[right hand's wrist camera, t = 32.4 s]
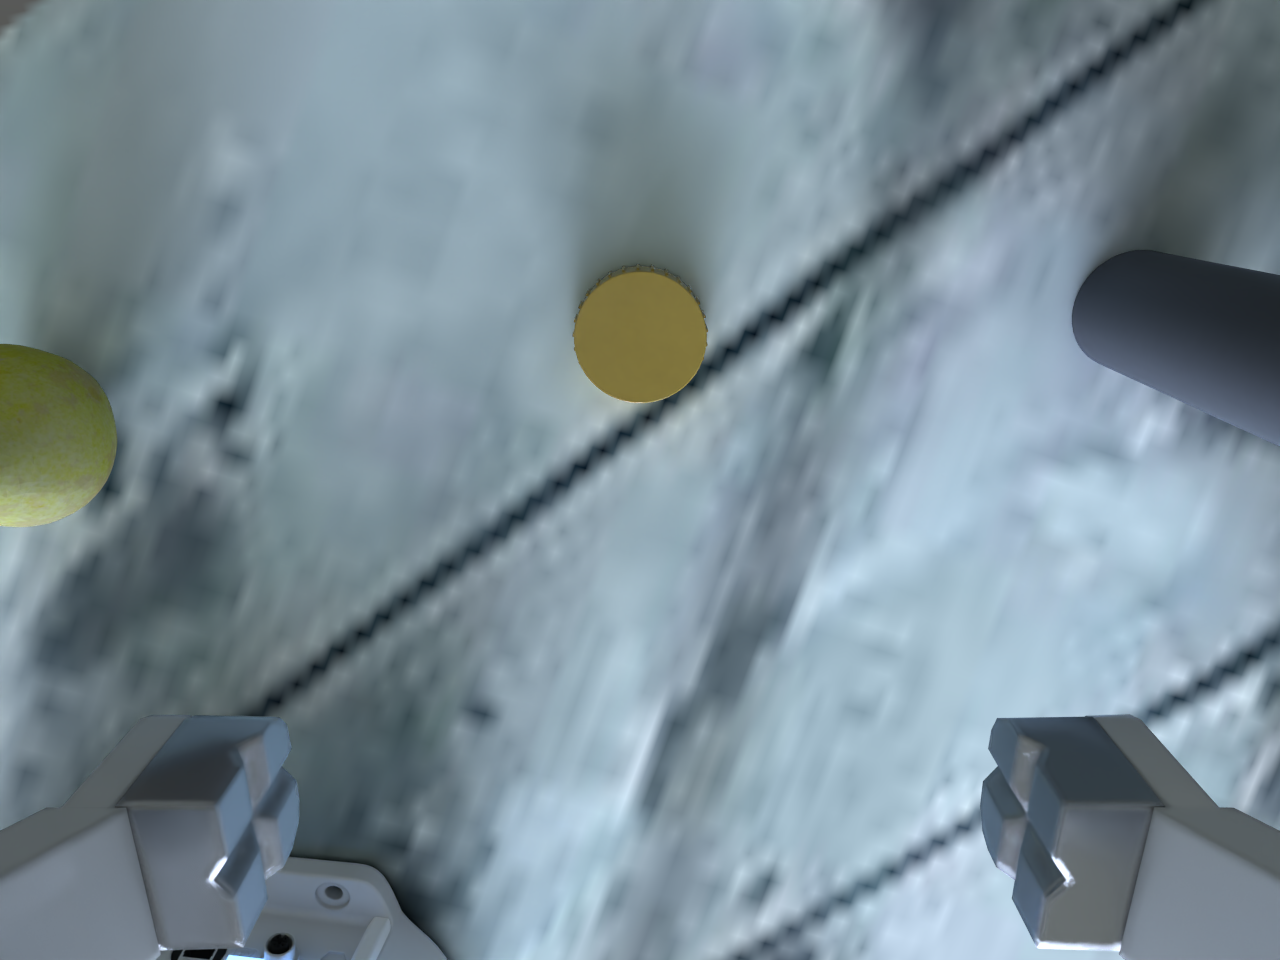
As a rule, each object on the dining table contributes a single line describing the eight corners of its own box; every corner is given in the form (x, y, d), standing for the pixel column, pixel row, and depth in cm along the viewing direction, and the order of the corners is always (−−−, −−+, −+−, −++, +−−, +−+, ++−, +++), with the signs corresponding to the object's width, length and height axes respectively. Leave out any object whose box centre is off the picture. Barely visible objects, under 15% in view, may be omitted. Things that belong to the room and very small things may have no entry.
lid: (699, 398, 37) (701, 410, 35) (571, 389, 37) (568, 400, 35) (711, 268, 35) (715, 274, 33) (578, 259, 35) (575, 264, 33)
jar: (1060, 275, 35) (1372, 366, 20) (1180, 231, 35) (1591, 292, 20) (1084, 384, 37) (1390, 544, 22) (1199, 344, 36) (1595, 479, 21)
